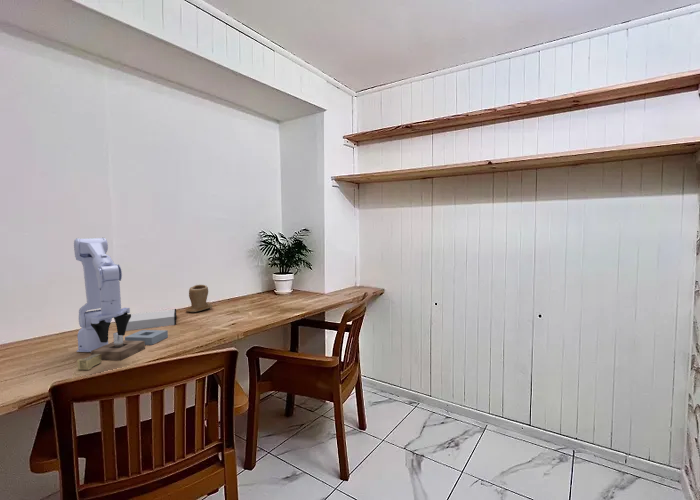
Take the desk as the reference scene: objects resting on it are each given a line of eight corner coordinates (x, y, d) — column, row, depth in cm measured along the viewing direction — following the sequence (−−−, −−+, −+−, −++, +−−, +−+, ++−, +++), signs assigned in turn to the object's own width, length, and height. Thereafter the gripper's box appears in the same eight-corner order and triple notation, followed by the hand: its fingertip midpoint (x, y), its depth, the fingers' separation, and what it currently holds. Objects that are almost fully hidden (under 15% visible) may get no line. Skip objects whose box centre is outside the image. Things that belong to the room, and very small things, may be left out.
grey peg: (112, 354, 129) (111, 334, 128) (118, 352, 132) (117, 331, 131) (119, 355, 128) (118, 334, 128) (125, 352, 131) (124, 331, 131)
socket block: (91, 359, 125) (90, 351, 125) (117, 347, 137) (117, 340, 136) (121, 360, 123) (120, 351, 123) (145, 348, 135) (144, 340, 135)
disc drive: (176, 325, 169) (175, 315, 168) (122, 332, 159) (121, 322, 158) (176, 317, 184) (176, 308, 184) (127, 323, 175) (126, 313, 174)
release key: (78, 369, 115) (77, 360, 115) (93, 362, 121) (92, 353, 121) (88, 369, 114) (88, 360, 114) (103, 362, 120) (103, 353, 120)
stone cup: (195, 314, 189) (194, 287, 188) (182, 312, 194) (181, 286, 194) (218, 308, 202) (217, 283, 201) (205, 306, 208) (204, 282, 207)
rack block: (125, 344, 141) (124, 337, 140) (142, 336, 150) (142, 329, 150) (152, 344, 139) (151, 337, 139) (167, 337, 149) (167, 330, 149)
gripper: (104, 304, 110) (106, 345, 111) (136, 295, 125) (138, 332, 126) (84, 304, 111) (87, 345, 112) (118, 295, 126) (121, 332, 126)
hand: (113, 338), depth 119 cm, fingers open, 7 cm apart
